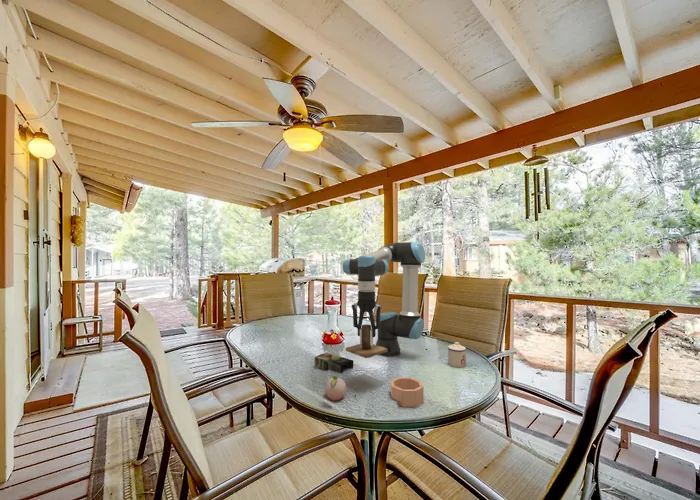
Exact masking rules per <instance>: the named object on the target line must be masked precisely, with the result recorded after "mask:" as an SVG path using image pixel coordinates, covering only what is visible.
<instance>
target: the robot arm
mask: <svg viewBox="0 0 700 500" xmlns="http://www.w3.org/2000/svg"><path fill="white" fill-rule="evenodd" d="M425 259H426V251H425V248H424V246H423V244H422V243H421V242H417V241H415V242H414V241H411V242H393V243H390V244H389V243H388V244H386V245H384V246H380V247H379V248H378V249H377V250H375V251H372V252H370V253H367V254H364V255H359V256H358V257H357V258H356V257H355V258H352V259H351V258H348V259H344V261H343V262H342V271H343V273H344V274H345V275H352V276H354V275H357V278H358V280H357V290H358V292H357V301H356V303H353V304H352V305H351V308H352V320H353V321H352V323H353V328H356V329H357V336H358V337H359V344H362V325H363V320H364V316H365V313H368V317H369V322H370V325H371V330H370V345H373V344H374V338H375V337H376V335H377V340H376V343H375V345H377V346H381V347H384V348H387V349H388V351H387V352H384V353H381V354H378V355H377V356H381V357H395V356H400V354H401V347H400V344H399V341H398V337H400V338H404V339H405V338H406V339H409V340H418V339H419V338H421V336H422V334H423V331H424V328H425V327H424V326H425V325H424V324H425V321H424V319H423V318H421V313H419V312H418V311H419V310H418V307H419V302H418V300H419V299H418V297H419V269H420V268H422V264H424V263H425ZM389 263H400V267H401V268H402V303H401V311H400V312H399V315H398V312H396V311H391V312H390V311H389V312H382V313H381V310H382V307H383V305H381V304H380V305H379V304H377V301H376V291H375V290H376V277H377V276H380V277H382V276H384V275H386V274H388V272H389V269H390V268H389V267H390V266H389ZM358 308H359V317H358ZM374 309H375V310H376V315H375V317H374ZM376 330H377V332H376Z"/></svg>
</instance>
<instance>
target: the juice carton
mask: <svg viewBox="0 0 700 500" xmlns="http://www.w3.org/2000/svg"><path fill="white" fill-rule="evenodd" d="M313 358H314V359H313V360H314V366H313V367H314V368H317V369H319V370H322V371H325V372H328V371H332V372H336V373H339V374H343V370H344V366H348V367H350V368H351V369H353V368H354V359H349V358H346V357H343V356H340V355H335V354H332V353H330V352H324V353H320V354H318V355H316V356H314V357H313Z"/></svg>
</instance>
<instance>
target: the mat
mask: <svg viewBox="0 0 700 500" xmlns="http://www.w3.org/2000/svg"><path fill="white" fill-rule="evenodd" d="M343 381H344V382H345V384H346V386H350V387H351V388H353V389H355V390H358V391H359V392H362V393H367V392H369V391H371V390H373V389H376V388H379V387H381V386H383V385H385V384H387V382H386V381H384V380H381V379H378V378H377V377H374V376H372V375H369V374H366V373H361V374H359V375H357V376H354V377H351V378H349V379H348V378H347V379H346V380H345V379H344V380H343Z"/></svg>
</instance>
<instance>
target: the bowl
mask: <svg viewBox="0 0 700 500" xmlns="http://www.w3.org/2000/svg"><path fill="white" fill-rule="evenodd" d="M390 397H391V399H393V400H395V401H398V402H397V403H396V405H398V406H400V407H408V408H410V407H411V408H412V407H413V408H417V407H418V406H420V405H422V404H423V403H424V385H423V383H422V381H421V380H418V379H417V378H416V379H415V378H414V377H413V378H412V377H409V376H408V377H403V376H402V377H399V376H398V377H396V378H394V379H392V380H390Z"/></svg>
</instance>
